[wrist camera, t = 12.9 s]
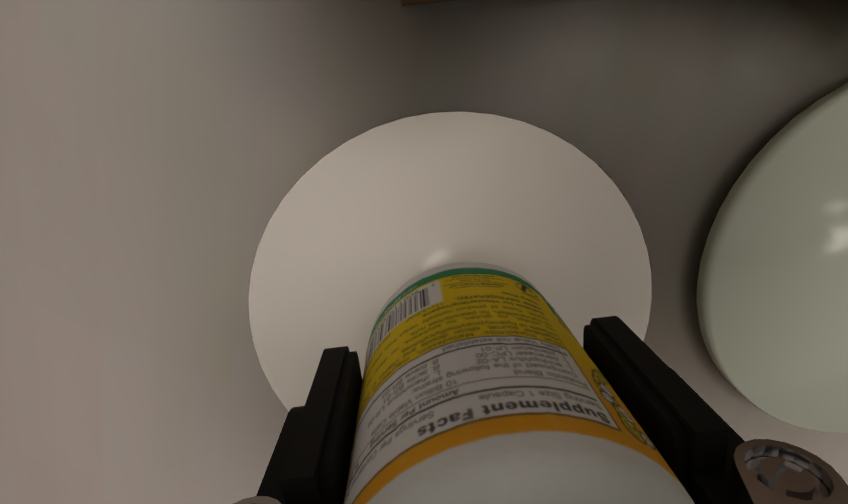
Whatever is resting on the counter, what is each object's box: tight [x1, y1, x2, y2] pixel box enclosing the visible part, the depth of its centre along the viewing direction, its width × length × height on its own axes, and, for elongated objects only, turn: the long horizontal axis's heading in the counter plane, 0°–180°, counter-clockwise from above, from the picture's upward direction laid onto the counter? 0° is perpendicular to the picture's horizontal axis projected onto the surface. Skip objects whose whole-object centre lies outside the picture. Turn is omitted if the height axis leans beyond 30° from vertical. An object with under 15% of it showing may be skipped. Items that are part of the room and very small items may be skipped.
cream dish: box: [249, 111, 652, 411], centre depth 15 cm, size 13×13×1 cm
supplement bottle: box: [343, 262, 695, 504], centre depth 8 cm, size 5×5×10 cm
